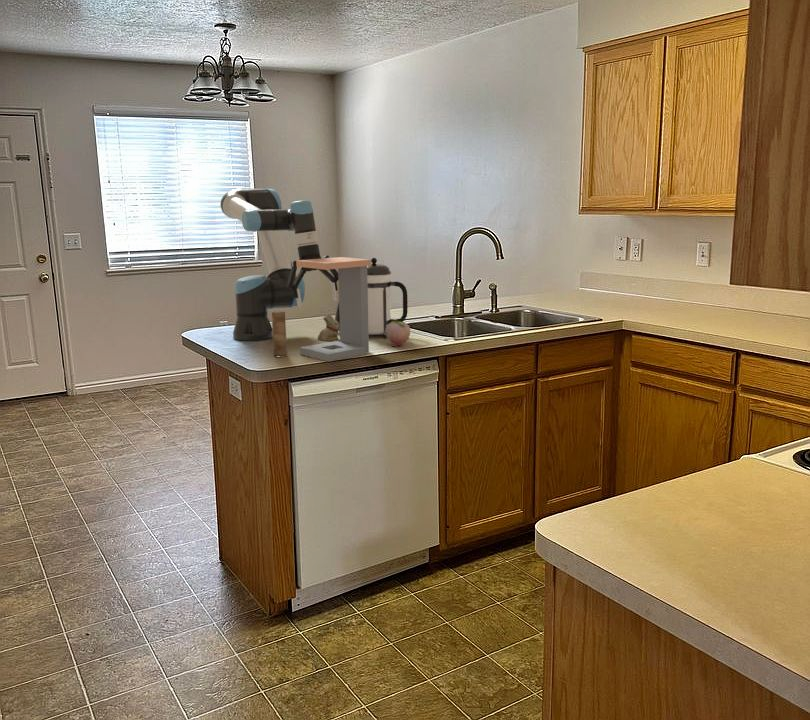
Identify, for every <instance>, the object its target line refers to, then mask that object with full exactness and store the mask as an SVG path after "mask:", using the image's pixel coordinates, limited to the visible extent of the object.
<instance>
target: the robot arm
mask: <svg viewBox="0 0 810 720" xmlns="http://www.w3.org/2000/svg"><path fill="white" fill-rule="evenodd" d="M289 205H290V208H289V209H287V208H285V209H283V206H282V200H281V197H280V195H279V193H278V192H277V191H276V190H275V189H274V188H266V187H263V188H234V189H231V190H229V191H228V192H226V193H225V194H224V195H223V196H222V198H221V200H220V209H221V211H222V213H223V215H225V216H226V217H228V218H230V219H233V220H234V219H235V220H238V221H240V222H241V223H242V227H243V230H244V231H247V232H253V233H254V232H257V234H258V237H259V241H260V244H261V249H262V252H263V256H264V259H265V264H266V267H267V271H268V274H267V275H264V274H258V275H256V274H255V275H248V276H244V277H241V278H238V279H237V280H236V281H235V285H234V294H235V307H236V308H235V309H236V321H235V323H234V329H233V332H232V334H233V335H232V337H233V339H234V340H237V341H246V342H247V341H249V342H250V341H251V342H252V341H263V340H269V339H273V329H272V323H271V322H270V319H269V315H268V310H273V309H284V308H285V309H286V308H293V307H297V308H302V307H303V302H304V299H305V293H306V284H305V283H306V282H305V279H304V276H305V274H306V273H307V272H312V271H317V270H318V271H319V272H320V273H322V275H324V276H325V277H326V278H327V279H328V280H330V282H329V287H330V294H331V299H332V301H338V297H337V291H339V287H338V284H337V283H338V282H339V280H338V270H337V269H328V270H329V271H330V272H329V271H328V270H324V269H314V268H305V267H300V270H299V272H298V274H297V269H298V267H297V265H296V261H297V260H291V262H289V259H288V258H289V257H288V255H287V251H286V248H285V244H284V240H283V236H282V234H281V231H288V232H290V231H292V232H293V231H294V234H295V241H296V245H297V246H298V247H297V252H298V253H297V254H298V258H299V260H310V259H323V258H330V256H329V255H324V256H321V251H320V247H319V245H320V244H318V242H319V240H318V235H317V234H318V233H317V229H316V222H315V215H314V208H313V205H312V202H311V201H310V200H309V199H305V200H304V199H303V200H297V201H292V202H291V203H290V204H289ZM290 264H291V265H290Z"/></svg>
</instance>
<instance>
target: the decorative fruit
mask: <svg viewBox="0 0 810 720" xmlns="http://www.w3.org/2000/svg"><path fill="white" fill-rule="evenodd" d="M396 319H397V321H391V322H390V324H388V325H387V327H386V329H385V333H386V336H387V338H386V339H388V340H389V342H390V343H391V344H393V345H395V346H396V347H398V346H399V347H400V346H401V345H404V344H405V343H406V342H407V341H408V339H409V338H410V336H411V327H410V326H409V324H408V323H406V322H405V321H403V322H399V321H398V319H399V318H396Z"/></svg>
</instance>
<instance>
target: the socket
mask: <svg viewBox="0 0 810 720" xmlns="http://www.w3.org/2000/svg"><path fill="white" fill-rule="evenodd" d="M295 261H296V265H297V268H302V267H305V268H314V269H317V270H318V269H324V270H327V271H328V270H329V269H336V270H337V272H338V302H339V317H340V332H339V341H338V340H332V341H329V342H322V343H317V344H311V345H307V346H299V355H300V354H301V355H300V356H304V355H305V357H308V356H309V358H313V359H316V360H320V361H324V362H333V361H338V360H339V361H340V360H343V359H349V358H355V357H359V356H365V355H367V354H368V353H370V349H369V348H370V347H369V343H370V340H369V338H370V337H369V335H370V334H368V281H367V266H371V264H372V262H371V259H367V258H357V257H356V258H355V257H344V256H338V257H329V258H323V259H310V260H298V259H297V260H295Z"/></svg>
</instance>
